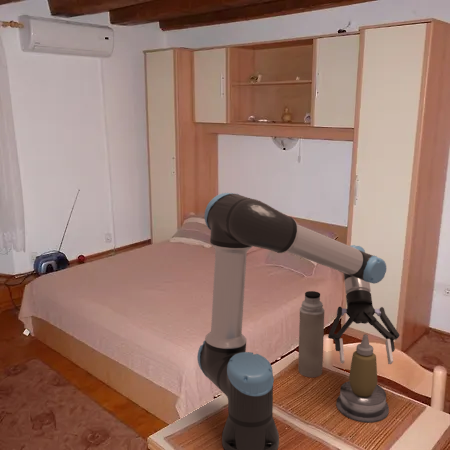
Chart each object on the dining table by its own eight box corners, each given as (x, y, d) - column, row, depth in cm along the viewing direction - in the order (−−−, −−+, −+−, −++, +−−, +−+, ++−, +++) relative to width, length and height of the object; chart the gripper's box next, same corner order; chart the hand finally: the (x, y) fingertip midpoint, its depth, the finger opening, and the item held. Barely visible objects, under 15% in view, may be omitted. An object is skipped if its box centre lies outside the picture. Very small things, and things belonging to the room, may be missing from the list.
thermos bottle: (299, 364, 170) (301, 287, 164) (322, 366, 168) (325, 289, 162) (297, 375, 163) (299, 296, 156) (321, 378, 161) (324, 298, 154)
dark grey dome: (340, 422, 138) (341, 406, 137) (332, 392, 153) (333, 377, 152) (395, 423, 138) (396, 407, 136) (381, 393, 152) (382, 378, 151)
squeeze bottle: (369, 402, 139) (372, 344, 135) (343, 392, 144) (345, 336, 140) (381, 390, 145) (385, 334, 140) (356, 381, 150) (359, 326, 146)
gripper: (396, 298, 153) (407, 366, 142) (316, 298, 155) (320, 365, 144) (402, 288, 147) (414, 359, 136) (318, 288, 148) (324, 357, 137)
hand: (366, 362), depth 140 cm, fingers open, 13 cm apart
